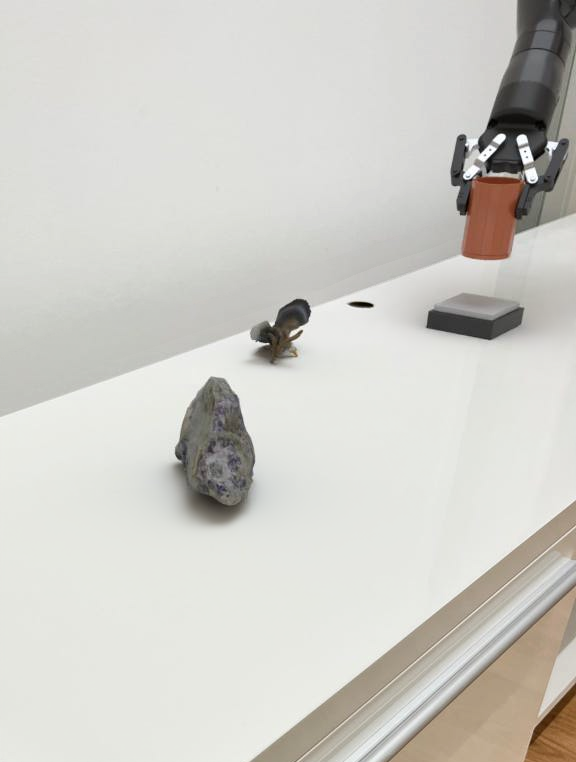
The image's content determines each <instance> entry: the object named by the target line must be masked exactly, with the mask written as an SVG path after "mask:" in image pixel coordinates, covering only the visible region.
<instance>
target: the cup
mask: <svg viewBox="0 0 576 762" xmlns="http://www.w3.org/2000/svg"><path fill="white" fill-rule="evenodd" d="M524 182H525V181H524V180H522V178H518V177H513V176H497V175H495V176H493V175H492V176H491V175H489V176H488V177H478V178H474V179H473V180H472V185H471V192H470V198H469V204H468V210H467V214H466V216H465V223H464V230H463V235H462V236H463V237H462V242H461V248H460V255H461V256H462V257H464V258H467V259H471V260H478V261H502V260H506V259H510V258H511V257H512V252H513V251H512V250H513V246H514V241H515V235H516V231H517V224H518V220H516V210H517V206H518V203H519V200H520V196H521V193H522V190H523V187H524Z"/></svg>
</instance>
